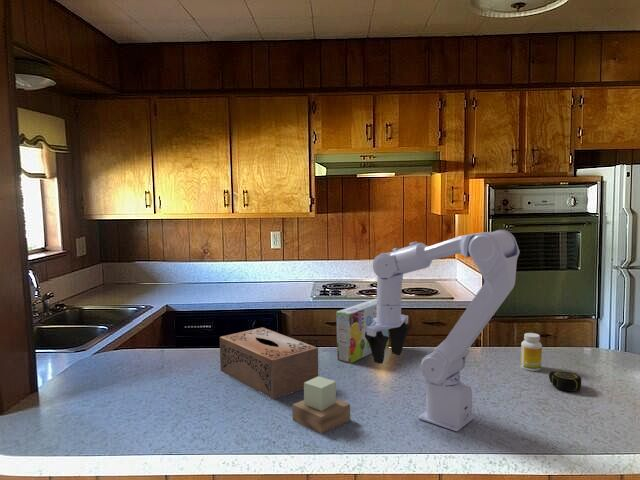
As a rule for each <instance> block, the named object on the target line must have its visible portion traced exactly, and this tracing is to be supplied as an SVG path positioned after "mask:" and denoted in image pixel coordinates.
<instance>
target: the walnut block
mask: <svg viewBox="0 0 640 480" xmlns="http://www.w3.org/2000/svg"><path fill="white" fill-rule="evenodd" d="M350 420H351V404H350V403H348V402H346V401H343V400H341V399H338V398H336V403H335V404H333V405H332V406H330V407H328V408H326V409H324V410H322V411H321V410H318V409H315V408H312V407H309V406H307V405H304V399H302V400H299V401H298V402H295V403H293V404H292V421H294V422H295V423H298V424H300V425H302V426H304V427H306V428H308V429H311V430H312V431H314V432H317V433H319V434H321V435H323V434H324V433H326V432H328V431H330V430H332V429H334V428H336V427H339V426H340V425H342V424H345V423H346V422H349V421H350Z"/></svg>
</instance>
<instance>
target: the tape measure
mask: <svg viewBox="0 0 640 480" xmlns="http://www.w3.org/2000/svg"><path fill="white" fill-rule="evenodd" d="M548 378H549V382H550V383H551V384H552V386H553V387H554V388H556V389H558V390H561V391H567V392H577V391H579V390H581V387H582V377H581V375H579V374H577V373H574V372H570V371H555V370H552V371H551V370H550V372H549V374H548Z"/></svg>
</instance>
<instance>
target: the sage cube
mask: <svg viewBox="0 0 640 480" xmlns="http://www.w3.org/2000/svg"><path fill="white" fill-rule="evenodd" d="M336 399H337V382H336V381H335V380H332V379H329V378H325V377H323V376H319V375H318V377H316V378H313V379H311V380H309V381H307V382H304V389H303V400H304V405H307V406H309V407H312V408H315V409H318V410H321V411H322V410H324V409H326V408H328V407H330V406H332V405H333V404H335V403H336Z"/></svg>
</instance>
